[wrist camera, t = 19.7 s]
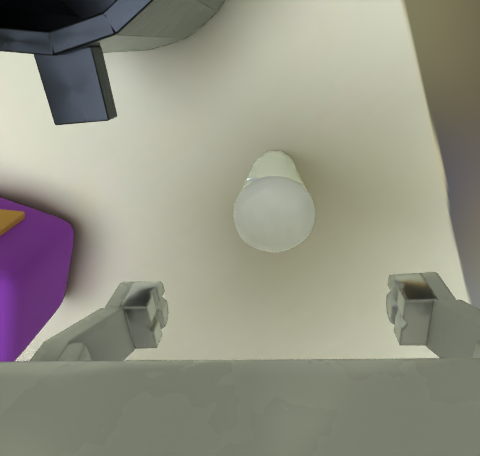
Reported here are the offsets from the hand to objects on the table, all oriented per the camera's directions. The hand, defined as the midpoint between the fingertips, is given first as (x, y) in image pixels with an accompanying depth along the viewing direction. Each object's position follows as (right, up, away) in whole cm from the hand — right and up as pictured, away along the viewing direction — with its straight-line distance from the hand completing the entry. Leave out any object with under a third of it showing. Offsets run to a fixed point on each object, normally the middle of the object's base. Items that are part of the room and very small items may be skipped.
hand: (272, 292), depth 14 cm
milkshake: (+1, +7, +14) cm, 16 cm away
